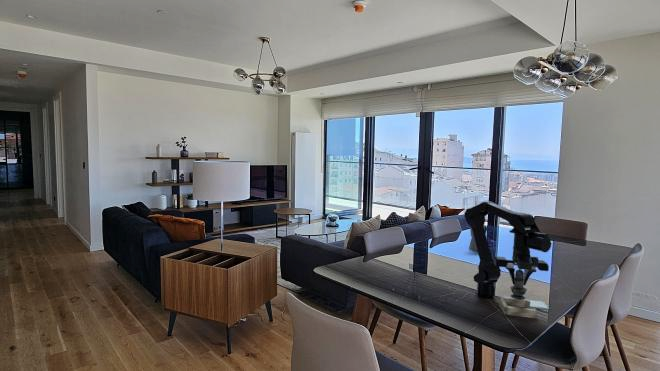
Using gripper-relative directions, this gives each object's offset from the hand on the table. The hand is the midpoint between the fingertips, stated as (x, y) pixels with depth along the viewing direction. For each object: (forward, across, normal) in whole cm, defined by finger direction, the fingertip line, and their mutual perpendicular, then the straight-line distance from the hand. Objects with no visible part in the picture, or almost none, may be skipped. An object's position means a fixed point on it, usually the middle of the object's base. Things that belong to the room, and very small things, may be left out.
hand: (518, 284), depth 148 cm
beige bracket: (+11, 0, 0) cm, 11 cm away
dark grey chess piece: (+5, 0, 0) cm, 5 cm away
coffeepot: (+11, -1, +102) cm, 103 cm away
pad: (+11, +9, +9) cm, 17 cm away
